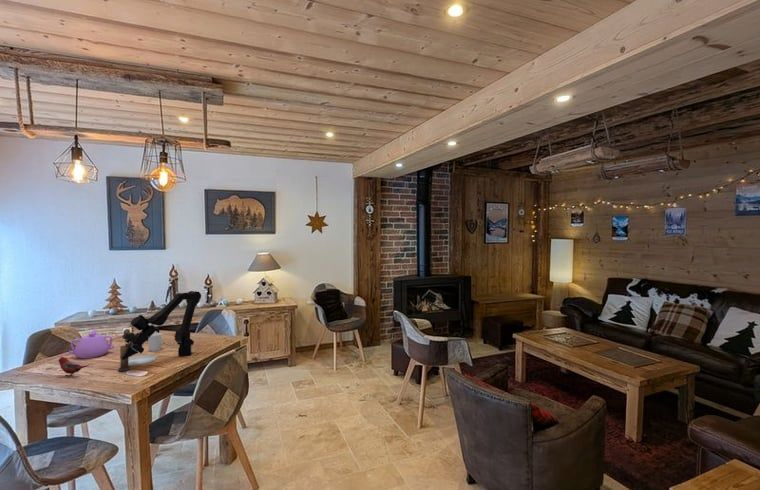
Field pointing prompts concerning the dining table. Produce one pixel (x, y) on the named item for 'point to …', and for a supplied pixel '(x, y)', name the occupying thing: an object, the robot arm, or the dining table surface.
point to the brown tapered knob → (124, 362)
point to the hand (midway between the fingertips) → (121, 358)
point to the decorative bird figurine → (69, 366)
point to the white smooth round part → (140, 360)
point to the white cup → (155, 342)
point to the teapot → (91, 346)
